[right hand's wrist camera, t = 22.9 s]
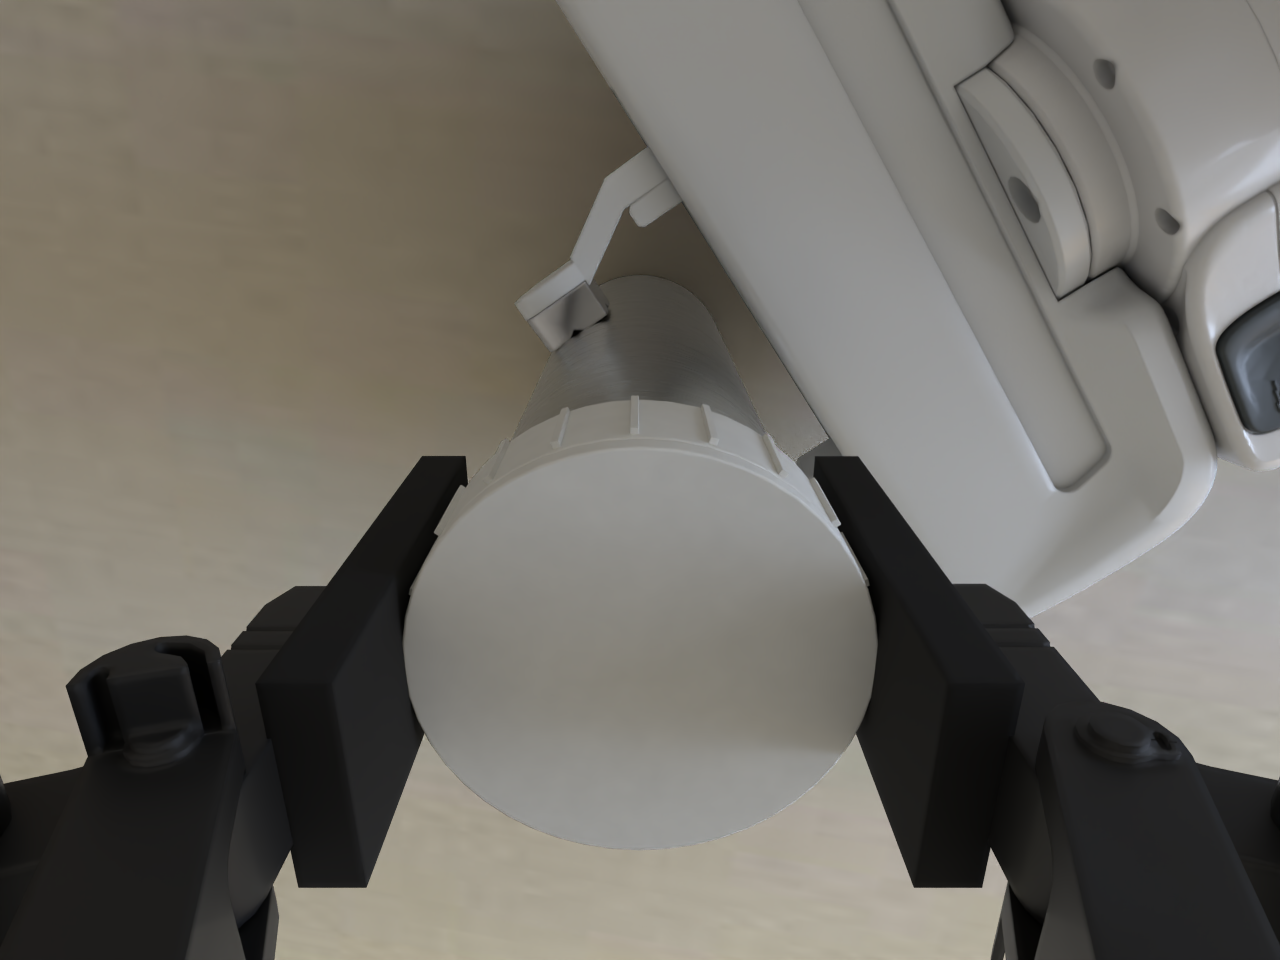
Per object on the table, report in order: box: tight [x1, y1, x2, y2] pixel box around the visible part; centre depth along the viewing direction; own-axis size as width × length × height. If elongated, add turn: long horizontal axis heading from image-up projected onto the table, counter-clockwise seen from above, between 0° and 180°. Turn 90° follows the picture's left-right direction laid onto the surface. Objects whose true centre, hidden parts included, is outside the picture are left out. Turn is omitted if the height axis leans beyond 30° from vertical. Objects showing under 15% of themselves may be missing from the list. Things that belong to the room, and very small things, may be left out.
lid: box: [403, 395, 878, 850], centre depth 11 cm, size 6×6×2 cm
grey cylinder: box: [511, 275, 765, 441], centre depth 19 cm, size 5×5×17 cm
